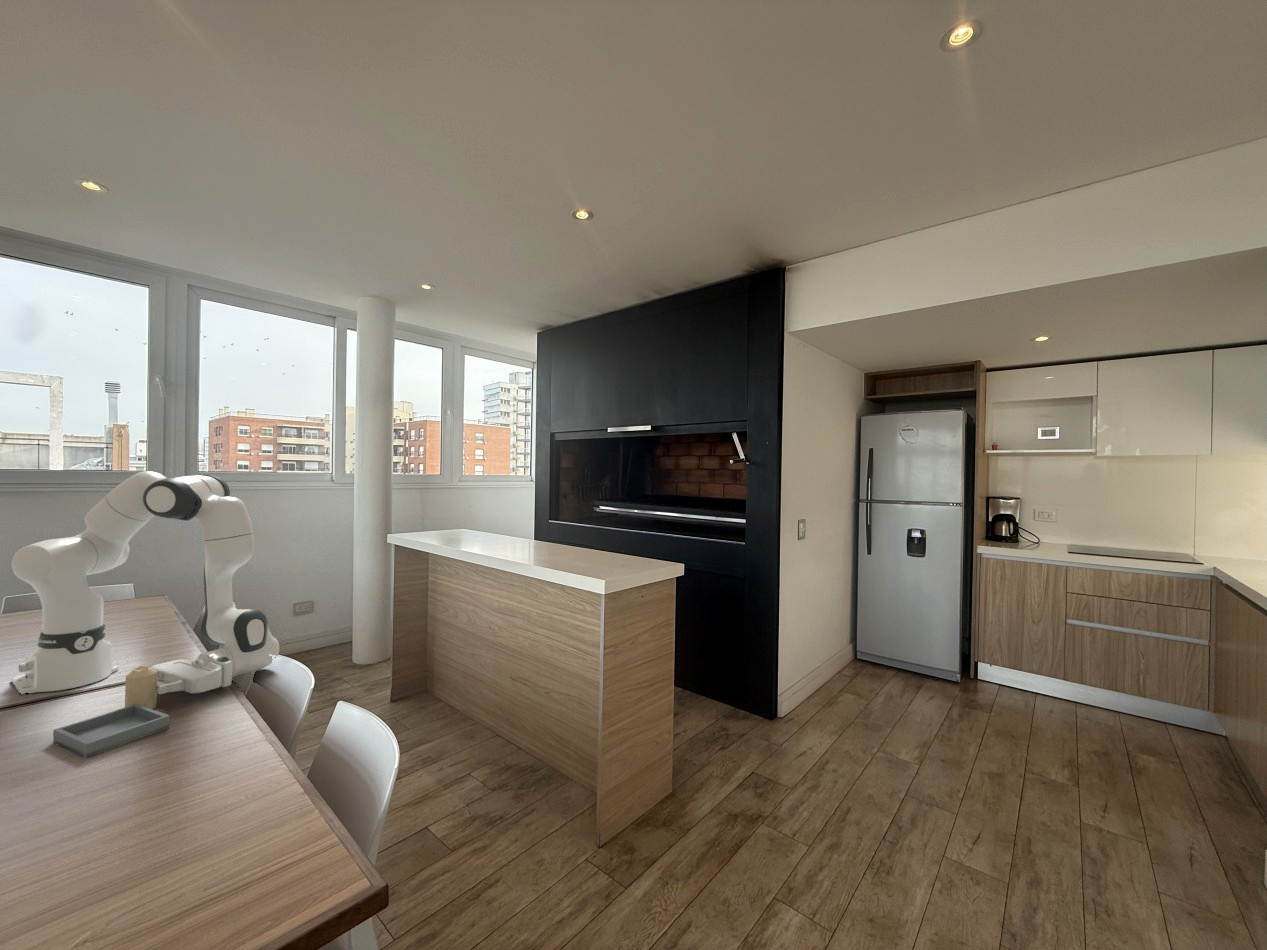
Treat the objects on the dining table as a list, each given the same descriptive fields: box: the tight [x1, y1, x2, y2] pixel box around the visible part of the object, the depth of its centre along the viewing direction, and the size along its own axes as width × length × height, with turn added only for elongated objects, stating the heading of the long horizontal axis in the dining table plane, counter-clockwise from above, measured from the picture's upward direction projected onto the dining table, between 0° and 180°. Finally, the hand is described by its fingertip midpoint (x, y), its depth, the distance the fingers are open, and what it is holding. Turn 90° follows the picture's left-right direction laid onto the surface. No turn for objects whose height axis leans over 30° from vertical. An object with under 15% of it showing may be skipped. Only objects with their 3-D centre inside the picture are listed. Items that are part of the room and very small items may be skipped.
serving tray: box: [52, 704, 171, 759], centre depth 111 cm, size 14×14×3 cm
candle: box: [124, 665, 158, 710], centre depth 123 cm, size 6×6×10 cm
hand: (146, 687), depth 124 cm, fingers open, 8 cm apart
